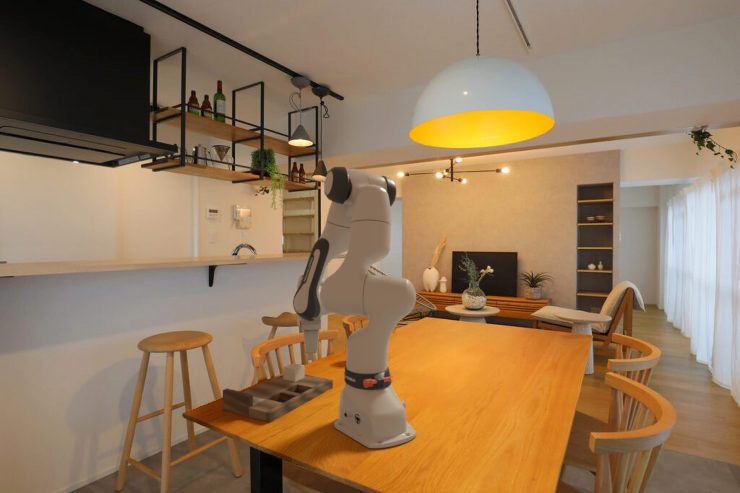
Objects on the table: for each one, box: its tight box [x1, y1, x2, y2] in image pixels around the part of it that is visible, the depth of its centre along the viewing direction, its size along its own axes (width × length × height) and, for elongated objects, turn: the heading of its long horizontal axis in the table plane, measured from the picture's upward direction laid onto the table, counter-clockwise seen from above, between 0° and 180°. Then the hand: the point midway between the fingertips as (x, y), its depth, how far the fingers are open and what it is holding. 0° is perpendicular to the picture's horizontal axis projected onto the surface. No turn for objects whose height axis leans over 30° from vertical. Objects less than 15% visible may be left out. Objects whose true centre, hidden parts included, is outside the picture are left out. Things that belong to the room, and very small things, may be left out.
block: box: [282, 363, 306, 382], centre depth 136 cm, size 5×5×4 cm
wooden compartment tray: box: [222, 374, 334, 423], centre depth 126 cm, size 30×18×6 cm, turn 152°
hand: (309, 359), depth 143 cm, fingers closed
